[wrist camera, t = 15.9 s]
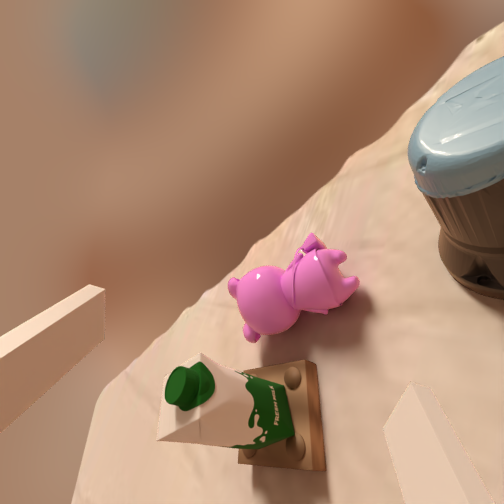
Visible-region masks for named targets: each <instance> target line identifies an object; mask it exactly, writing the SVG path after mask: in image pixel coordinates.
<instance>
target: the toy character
mask: <svg viewBox="0 0 504 504" xmlns="http://www.w3.org/2000/svg"><path fill="white" fill-rule="evenodd" d="M300 249H301V250H302V251H303V252H304V253H306V255H305V256H304V257H303V254H302V253H298V251H299V250H300ZM297 253H298V254H297ZM346 259H347V255H346V253H345V252H343V251H341V250H336V249H327V247H326V246H325V244H324V243H323V242H322V241H321V240H320V239H319V238H318V237H317V236H316V235H314V234H313V233H310V234H309V236H308V237H307V239H306V240H305V242H304V244H303V245H302V247H300V248H298V249H297V251H296V254H295V257H294V260H293V261H292V262H291V263H290V265H289V266H288V268H287V269H286V271H285V270H283V269H281V268H279V267H276V266H269V265H268V266H261V267H257V268H255V269H253V270H251V271H249V272H248V273H247V274H245V275H244V276H243V277H242V278H241V279H240V280H239V279H236V278H235V277H232V278H231V279H230V280H229V282H228V290H229V293H230V295H231V296H232V297H233V298H235V299H237V305H238V308H239V311H240V314H241V316H242V318H243V319H244V321H245V324H244V327H243V333H244V337H245V338H246V340H247V341H249V342H251V343H256V342H257V341H258V340H259V338H260V337H261V335H273V334H278V333H281V332H284V331H286V330H287V329H289V328H290V327H291V326H293V325H294V323H295V322H296V321H297V319H298V317H299V315H300V312H301V310H305V311H310V312H316V313H322V314H325V315H327V313H328V309H332V308H336V307H339V306H341V305H342V304H343V302H344V301H346V300H347V299H348V298H349V297H350V296H351V295H352V294H353V293H354V291H355V290H356V289H357V288H358V287H359V284H360V281H359V279H358V277H356V276H351V277H347V278H345V277H343V276H342V274H341V272H340V270H339V268H338V265H339V264H341V263H343V262H344V261H346ZM260 334H261V335H260Z"/></svg>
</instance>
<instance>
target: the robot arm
mask: <svg viewBox="0 0 504 504" xmlns="http://www.w3.org/2000/svg"><path fill="white" fill-rule="evenodd" d="M408 160H409V164H410V166H411V169H412V171H413V173H414V178H415V183H416V185H417V187H418V189H419V190H420V191H421V192H422V193H423V195H424V197H425V199H426V200H427V202H428V204H429V206H430V208H431V209H432V211H433V213H434V215H435V217H436V218H437V220H438V222H439V224H440V226H441V229H440V235H439V241H438V248H439V253H440V257H441V259H442V261H443V263H444V265H445V267H446V268H447V270H448V271H449V273H450V274H451V275H452V276H453V277H454V278H455V279H456V280H457V281H458V282H459V283H461V284H462V285H464V286H465V287H467V288H469V289H471V290H473V291H475V292H477V293H480V294H483V295H486V296H489V297H493V298H498V299H504V56H503V57H501V58H499V59H497V60H494V61H492V62H490V63H489V64H487V65H485V66H483V67H481V68H479V69H478V70H476V71H474V72H473V73H471V74H470V75H468V76H467V77H465V78H464V79H462V80H461V81H459V82H458V83H457V84H455V85H454V86H453V87H451V88H450V89H449V90H448V91H447V92H446V93H444V94H443V95H442V96H441V97H440V98H439V99H438V100H437V102H436V103H435V104H434V105H433V106H432V107H431V108H429V109H428V110H427V111H426V113H425V114H424V115H423V116H422V118H421V119H420V121H419V122H418V124H417V125H416V127H415V129H414V131H413V133H412V135H411V138H410V141H409V145H408ZM104 338H105V289H103V288H99V287H96V286H93V285H90V284H89V285H87V286H86V287H84V288H82V289H81V290H79V291H77V292H76V293H74V294H72V295H70V296H69V297H67V298H65V299H64V300H62V301H60V302H59V303H57V304H55V305H54V306H52V307H50V308H48V309H47V310H45V311H43V312H42V313H40V314H38V315H37V316H35V317H33V318H32V319H30V320H28V321H26V322H25V323H23V324H21V325H20V326H18V327H16V328H15V329H13V330H11V331H10V332H8V333H6V334H4V335H3V336H1V337H0V434H1V433H2V432H3V431H4V430H5V429H6V428H7V427H8V426H9V425H10V424H12V423H13V422H14V421H15V420H16V419H17V418H18V417H19V416H20V415H21V414H23V413H24V412H25V411H26V410H27V409H28V408H29V407H30V406H31V405H32V404H33V403H35V402H36V401H37V400H38V399H39V398H40V397H41V396H42V395H43V394H45V393H46V392H47V391H48V390H49V389H50V388H51V387H52V386H53V385H54V384H55V383H56V382H58V381H59V380H60V379H61V378H62V377H63V376H64V375H65V374H66V373H67V372H69V371H70V370H71V369H72V368H73V367H74V366H75V365H76V364H78V363H79V362H80V361H81V360H82V359H83V358H84V357H85V356H86V355H87V354H88V353H89V352H91V351H92V350H93V349H94V348H95V347H96V346H97V345H98V344H99V343H101V342H102V341H103V340H104ZM383 431H384V435H385V438H386V441H387V445H388V448H389V452H390V455H391V458H392V462H393V465H394V468H395V472H396V475H397V478H398V482H399V485H400V489H401V492H402V495H403V499H404V502H405V504H495V502H494V501H493V499H492V497H491V495H490V493H489V492H488V490H487V488H486V486H485V484H484V483H483V481H482V479H481V477H480V475H479V474H478V472H477V470H476V468H475V467H474V465H473V463H472V461H471V459H470V458H469V456H468V454H467V452H466V450H465V449H464V447H463V445H462V443H461V441H460V440H459V438H458V436H457V434H456V432H455V431H454V429H453V427H452V425H451V424H450V422H449V420H448V418H447V416H446V415H445V413H444V411H443V409H442V407H441V406H440V404H439V402H438V400H437V398H436V397H435V395H434V393H433V391H432V390H431V388H430V387H427V386H423V385H420V384H417V383H413V382H410V383H409V385H408V386H407V388H406V390H405V391H404V393H403V395H402V396H401V398H400V400H399V402H398V403H397V405H396V407H395V408H394V410H393V412H392V413H391V415H390V417H389V418H388V420H387V422H386V423H385V425H384V427H383Z"/></svg>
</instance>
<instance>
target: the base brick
mask: <svg viewBox="0 0 504 504" xmlns="http://www.w3.org/2000/svg"><path fill="white" fill-rule="evenodd" d="M244 373H246V374H249V375H252V376H255V377H258V378H261V379H265V380H268V381H271V382H275V383H278V384H281V385H284V386H285V391H286V396H287V400H288V405H289V410H290V414H291V419H292V424H293V428H294V433H295V435H294V436H291V437H289V438H286V439H283V440H281V441H278V442H276V443H273V444H271V445H268V446H266V447H263V448H261V449H239V454H238V464H248V465H259V466H270V467H280V468H291V469H301V470H312V471H326V462H325V452H324V441H323V431H322V420H321V410H320V399H319V389H318V378H317V368H316V364H314V363H312V362H310V361H307V360H305V359H304V360H299V361H293V362H288V363H283V364H277V365H272V366H266V367H261V368H256V369H250V370H245V371H244Z"/></svg>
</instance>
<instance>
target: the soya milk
mask: <svg viewBox="0 0 504 504" xmlns="http://www.w3.org/2000/svg"><path fill="white" fill-rule="evenodd" d="M294 435H295V433H294V428H293V424H292V419H291V414H290V410H289V405H288V400H287V396H286V391H285V386H284V385H281V384H278V383H275V382H271V381H268V380H265V379H261V378H258V377H255V376H252V375H249V374H246V373H243V372H240V371H237V370H235V369H232V368H229V367H226V366H223V365H220V364H218V363H216V362H214V361H213V360H211V359H210V358H208V357H207V356H205V355H204V354H202V353H198V354H197V355H195V356H194V357H192V358H191V359H189V360H187V361H186V362H184V363H183V364H181V365H179V366H177V367H176V368H175V369H174V370H173V371H172V372H170V373H169V374H167V375H166V376H164V382H163V390H162V399H161V407H160V415H159V424H158V432H157V441H169V442H183V443H193V444H194V443H195V444H203V445H211V446H220V447H229V448H238V449H261V448H263V447H266V446H268V445H271V444H273V443H276V442H278V441H281V440H283V439H286V438H289V437H291V436H294Z"/></svg>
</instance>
